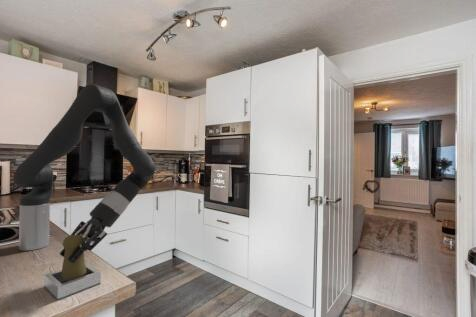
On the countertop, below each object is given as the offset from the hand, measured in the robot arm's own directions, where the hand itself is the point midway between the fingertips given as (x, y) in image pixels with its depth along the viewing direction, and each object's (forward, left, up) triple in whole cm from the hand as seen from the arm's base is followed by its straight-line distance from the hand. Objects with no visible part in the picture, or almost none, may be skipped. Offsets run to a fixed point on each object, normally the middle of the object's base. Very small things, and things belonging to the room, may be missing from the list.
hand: (66, 258), depth 67 cm
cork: (0, +2, -5) cm, 6 cm away
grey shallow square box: (0, +2, -8) cm, 8 cm away
